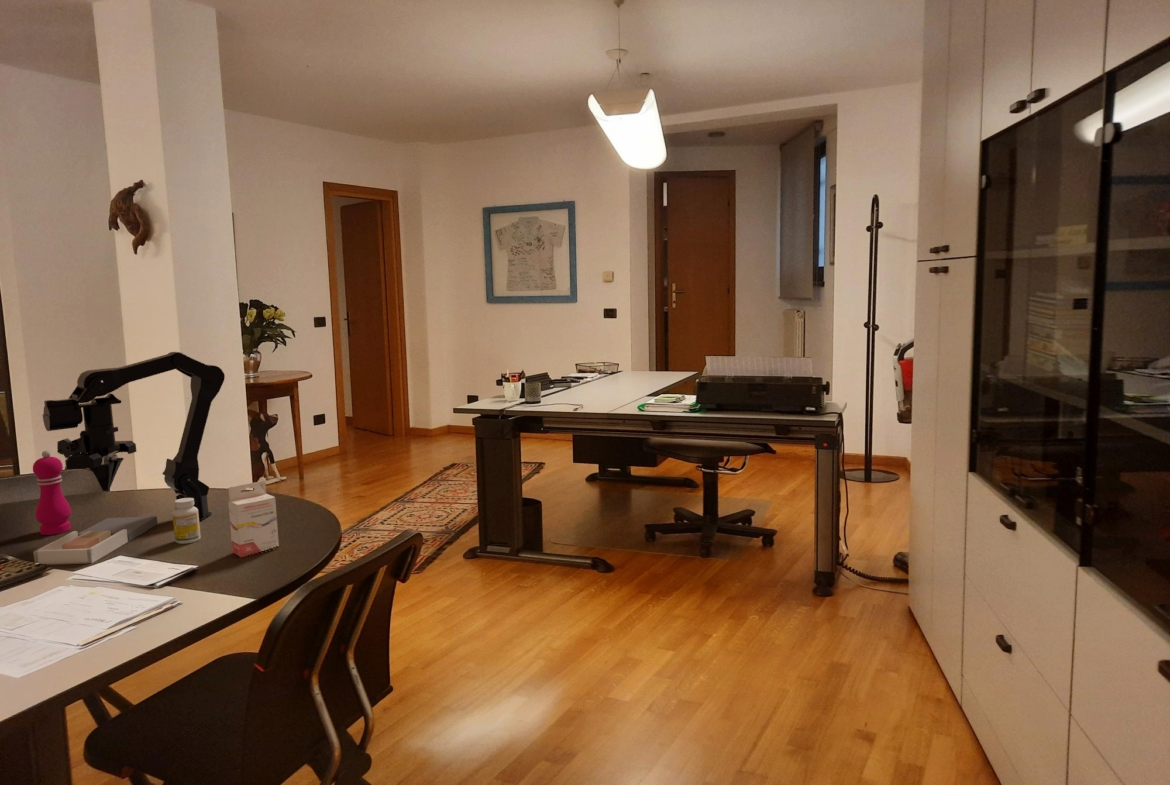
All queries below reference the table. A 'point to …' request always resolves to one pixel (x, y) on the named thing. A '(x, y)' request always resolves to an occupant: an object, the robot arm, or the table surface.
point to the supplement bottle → (186, 521)
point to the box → (78, 550)
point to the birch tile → (96, 535)
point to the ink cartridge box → (252, 519)
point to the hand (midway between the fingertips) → (106, 490)
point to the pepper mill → (51, 496)
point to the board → (124, 525)
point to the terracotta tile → (81, 543)
